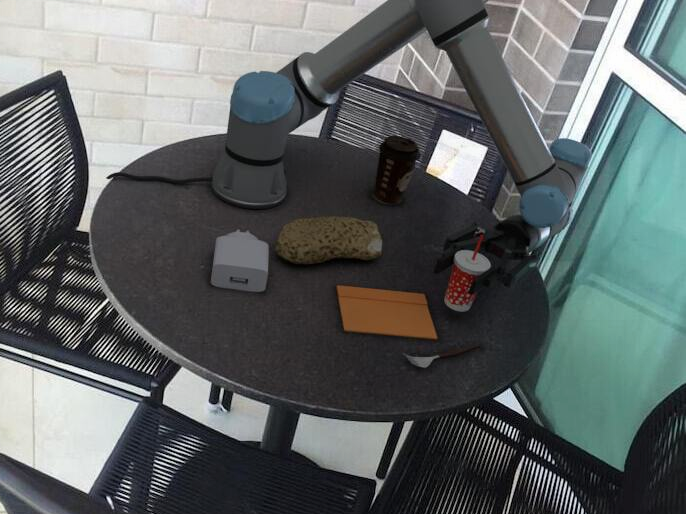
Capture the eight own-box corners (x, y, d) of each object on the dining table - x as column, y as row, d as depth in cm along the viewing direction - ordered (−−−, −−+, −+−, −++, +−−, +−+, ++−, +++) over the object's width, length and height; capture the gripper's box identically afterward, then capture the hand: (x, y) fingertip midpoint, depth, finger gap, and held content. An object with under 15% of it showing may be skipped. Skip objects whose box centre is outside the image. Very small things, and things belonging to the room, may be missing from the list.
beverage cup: (460, 290, 143) (484, 222, 135) (481, 311, 139) (508, 243, 131) (432, 295, 140) (456, 227, 132) (453, 317, 136) (479, 247, 128)
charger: (266, 245, 150) (264, 293, 138) (216, 238, 149) (210, 286, 136) (269, 223, 147) (268, 270, 135) (219, 216, 146) (213, 263, 134)
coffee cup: (407, 193, 177) (422, 139, 170) (407, 211, 170) (423, 156, 163) (368, 184, 177) (382, 130, 170) (366, 202, 170) (380, 147, 163)
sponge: (363, 242, 159) (268, 217, 152) (381, 214, 154) (284, 186, 147) (372, 291, 150) (271, 267, 143) (391, 263, 145) (288, 236, 138)
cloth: (344, 331, 133) (344, 328, 133) (336, 287, 143) (336, 285, 142) (437, 339, 136) (438, 336, 135) (423, 296, 145) (424, 293, 145)
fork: (484, 352, 136) (488, 343, 134) (408, 372, 128) (411, 363, 126) (474, 342, 137) (478, 333, 136) (399, 362, 129) (402, 352, 128)
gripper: (559, 276, 145) (497, 325, 129) (469, 227, 154) (401, 267, 138) (574, 241, 141) (513, 287, 125) (481, 193, 150) (412, 230, 134)
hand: (454, 277), depth 131 cm, fingers closed on beverage cup, 6 cm apart
